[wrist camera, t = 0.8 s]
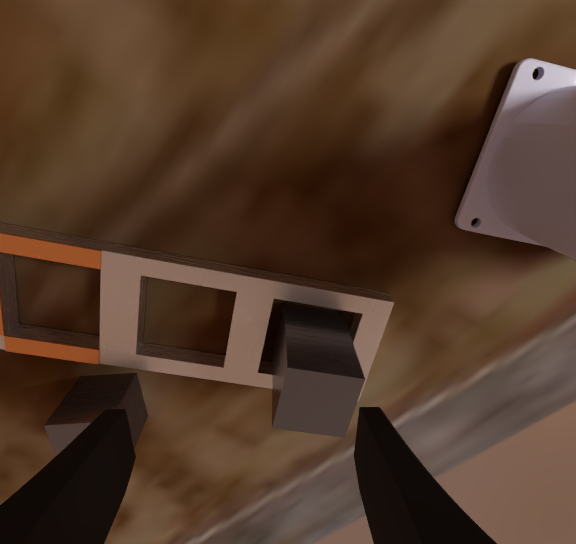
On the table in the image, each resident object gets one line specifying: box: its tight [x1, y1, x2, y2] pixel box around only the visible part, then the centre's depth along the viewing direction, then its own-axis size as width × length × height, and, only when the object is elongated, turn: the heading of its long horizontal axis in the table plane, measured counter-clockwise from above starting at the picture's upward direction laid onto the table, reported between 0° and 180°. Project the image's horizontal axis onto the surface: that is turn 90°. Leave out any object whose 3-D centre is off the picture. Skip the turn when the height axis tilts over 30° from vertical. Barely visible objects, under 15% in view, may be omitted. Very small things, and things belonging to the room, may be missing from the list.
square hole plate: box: [0, 223, 394, 401], centre depth 21 cm, size 22×7×1 cm, turn 78°
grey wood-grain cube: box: [44, 373, 148, 456], centre depth 22 cm, size 4×4×4 cm
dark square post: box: [272, 302, 365, 437], centre depth 20 cm, size 4×4×6 cm
